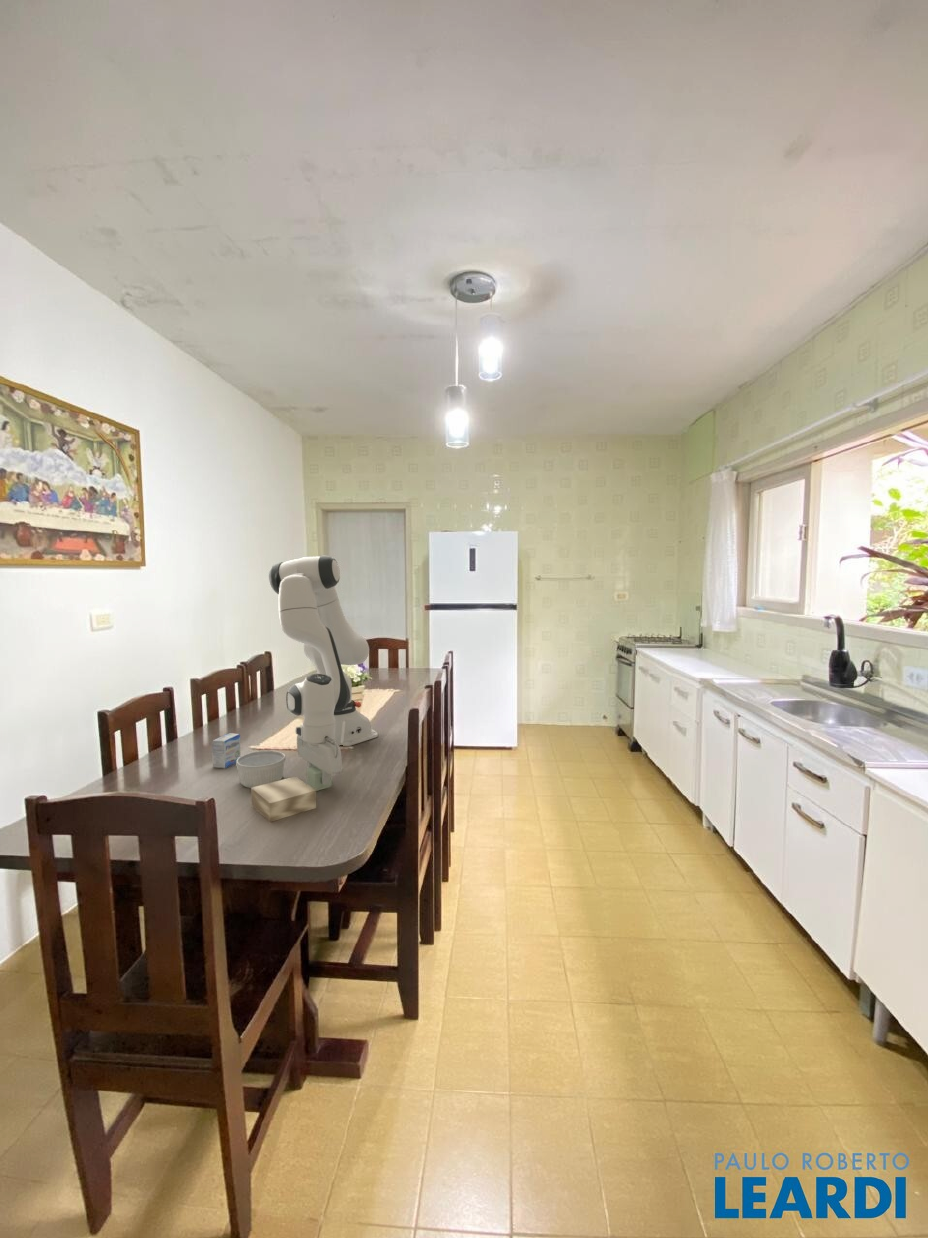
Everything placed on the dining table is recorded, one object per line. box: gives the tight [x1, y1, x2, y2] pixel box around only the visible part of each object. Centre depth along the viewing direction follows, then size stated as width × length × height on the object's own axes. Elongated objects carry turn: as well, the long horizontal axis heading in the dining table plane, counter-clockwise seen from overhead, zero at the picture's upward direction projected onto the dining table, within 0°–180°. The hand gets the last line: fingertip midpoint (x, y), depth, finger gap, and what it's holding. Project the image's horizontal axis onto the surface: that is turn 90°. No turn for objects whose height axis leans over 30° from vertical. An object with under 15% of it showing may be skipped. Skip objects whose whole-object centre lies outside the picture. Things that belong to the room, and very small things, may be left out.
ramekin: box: [235, 749, 286, 789], centre depth 149 cm, size 13×13×7 cm
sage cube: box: [306, 766, 332, 792], centre depth 147 cm, size 5×5×5 cm
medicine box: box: [211, 732, 241, 769], centre depth 162 cm, size 8×4×9 cm, turn 168°
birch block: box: [250, 776, 317, 823], centre depth 133 cm, size 12×12×5 cm
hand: (319, 780), depth 147 cm, fingers closed on sage cube, 5 cm apart
